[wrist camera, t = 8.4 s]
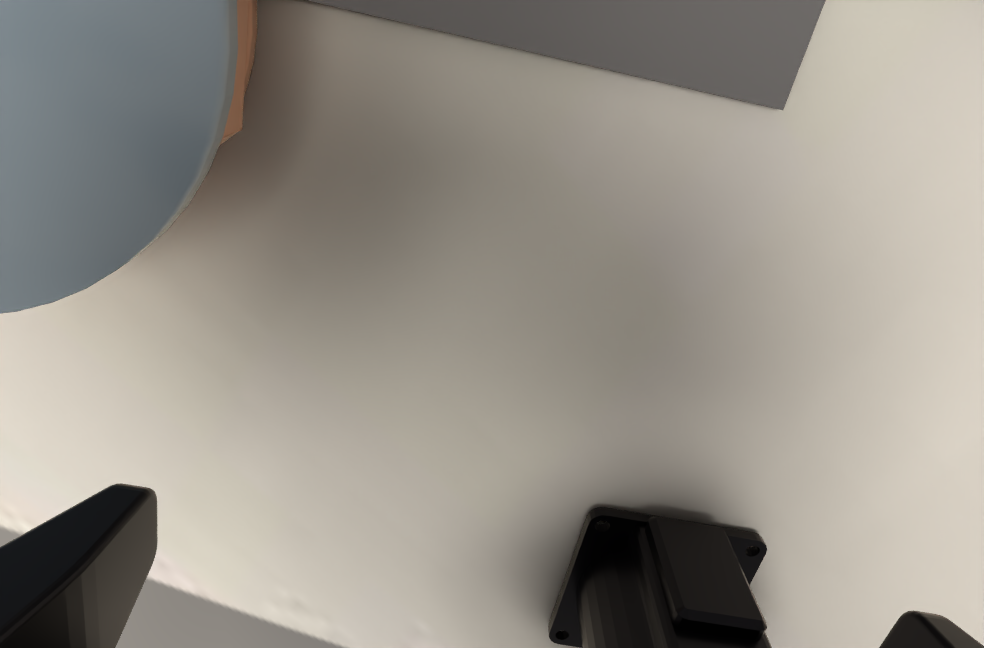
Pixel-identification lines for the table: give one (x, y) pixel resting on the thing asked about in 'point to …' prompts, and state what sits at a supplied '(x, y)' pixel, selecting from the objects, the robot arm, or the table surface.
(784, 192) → the table surface
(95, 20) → the lid
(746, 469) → the table surface
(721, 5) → the mat
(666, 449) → the table surface
